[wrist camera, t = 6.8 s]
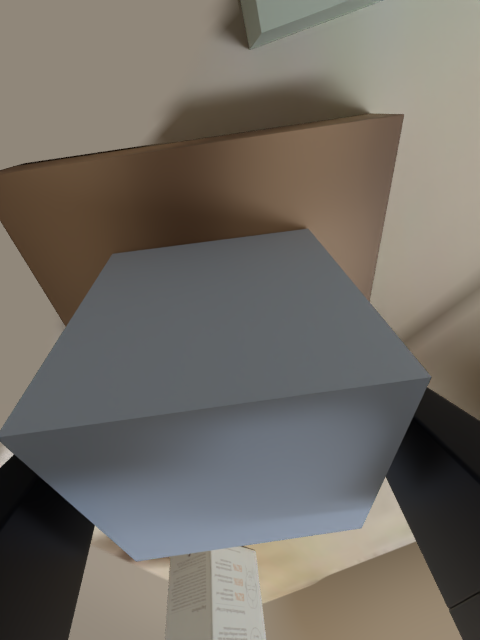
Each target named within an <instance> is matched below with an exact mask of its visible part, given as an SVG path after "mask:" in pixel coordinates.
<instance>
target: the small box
mask: <svg viewBox="0 0 480 640" xmlns="http://www.w3.org/2000/svg"><path fill="white" fill-rule="evenodd" d="M168 587H169V588H168V600H167V615H166V629H165V640H266V634H265V625H264V617H263V609H262V600H261V592H260V583H259V576H258V567H257V559H256V552H255V551H254V550H251V549H248V548H245V547H242V546H238V547H231V548H224V549H218V550H211V551H204V552H197V553H191V554H184V555H177V556H171V557H170V571H169V585H168Z"/></svg>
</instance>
